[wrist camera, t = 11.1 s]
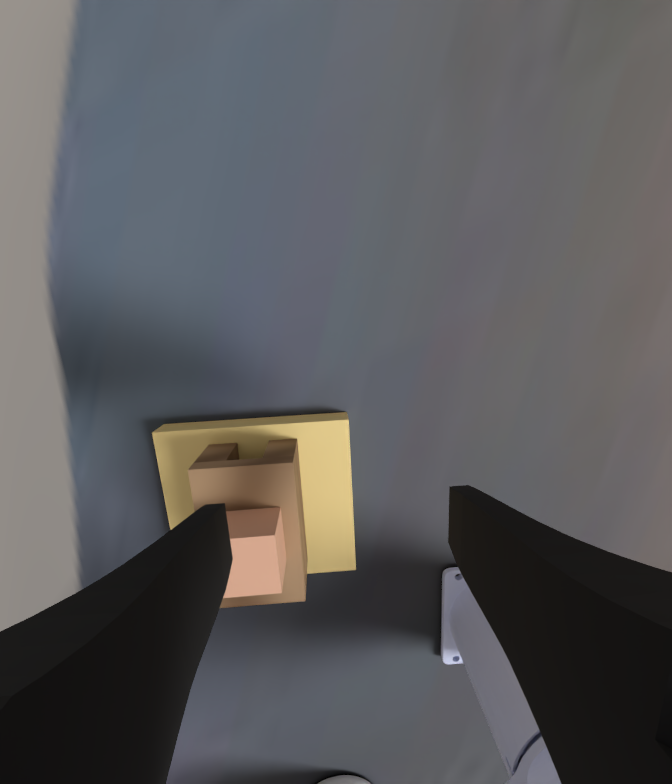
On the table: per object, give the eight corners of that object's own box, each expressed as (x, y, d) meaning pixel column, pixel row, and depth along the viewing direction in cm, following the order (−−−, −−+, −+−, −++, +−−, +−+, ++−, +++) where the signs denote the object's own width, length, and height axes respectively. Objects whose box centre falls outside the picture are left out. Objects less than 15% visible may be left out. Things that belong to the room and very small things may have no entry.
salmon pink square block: (280, 506, 17) (274, 535, 15) (286, 559, 18) (281, 593, 16) (219, 511, 17) (205, 540, 15) (227, 563, 18) (214, 598, 16)
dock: (346, 412, 21) (348, 419, 20) (353, 553, 23) (356, 570, 22) (163, 424, 21) (151, 432, 19) (189, 566, 23) (180, 583, 22)
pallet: (297, 438, 20) (292, 462, 17) (307, 558, 21) (305, 601, 18) (208, 444, 19) (187, 470, 16) (227, 565, 21) (211, 608, 18)
